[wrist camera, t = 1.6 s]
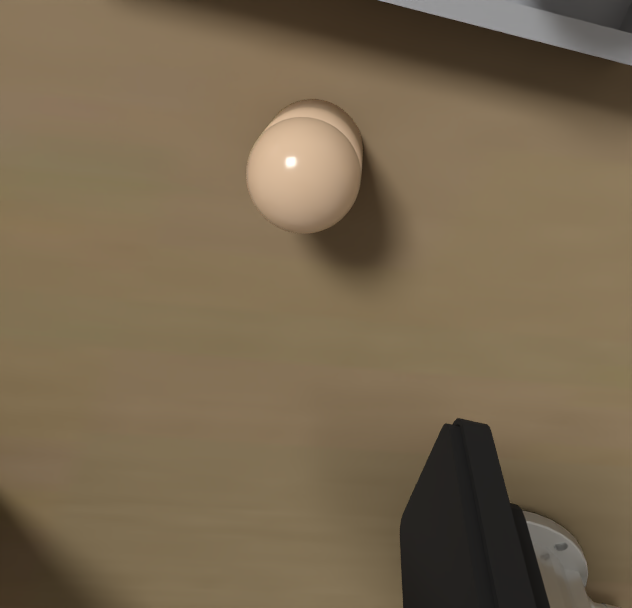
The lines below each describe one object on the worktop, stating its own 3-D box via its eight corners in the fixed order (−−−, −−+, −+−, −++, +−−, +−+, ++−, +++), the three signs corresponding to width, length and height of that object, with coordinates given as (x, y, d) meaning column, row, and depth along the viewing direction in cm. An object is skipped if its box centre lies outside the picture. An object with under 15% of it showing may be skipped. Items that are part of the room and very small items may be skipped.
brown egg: (374, 113, 26) (374, 148, 20) (349, 209, 28) (342, 264, 22) (273, 87, 25) (244, 116, 20) (256, 186, 28) (226, 236, 22)
